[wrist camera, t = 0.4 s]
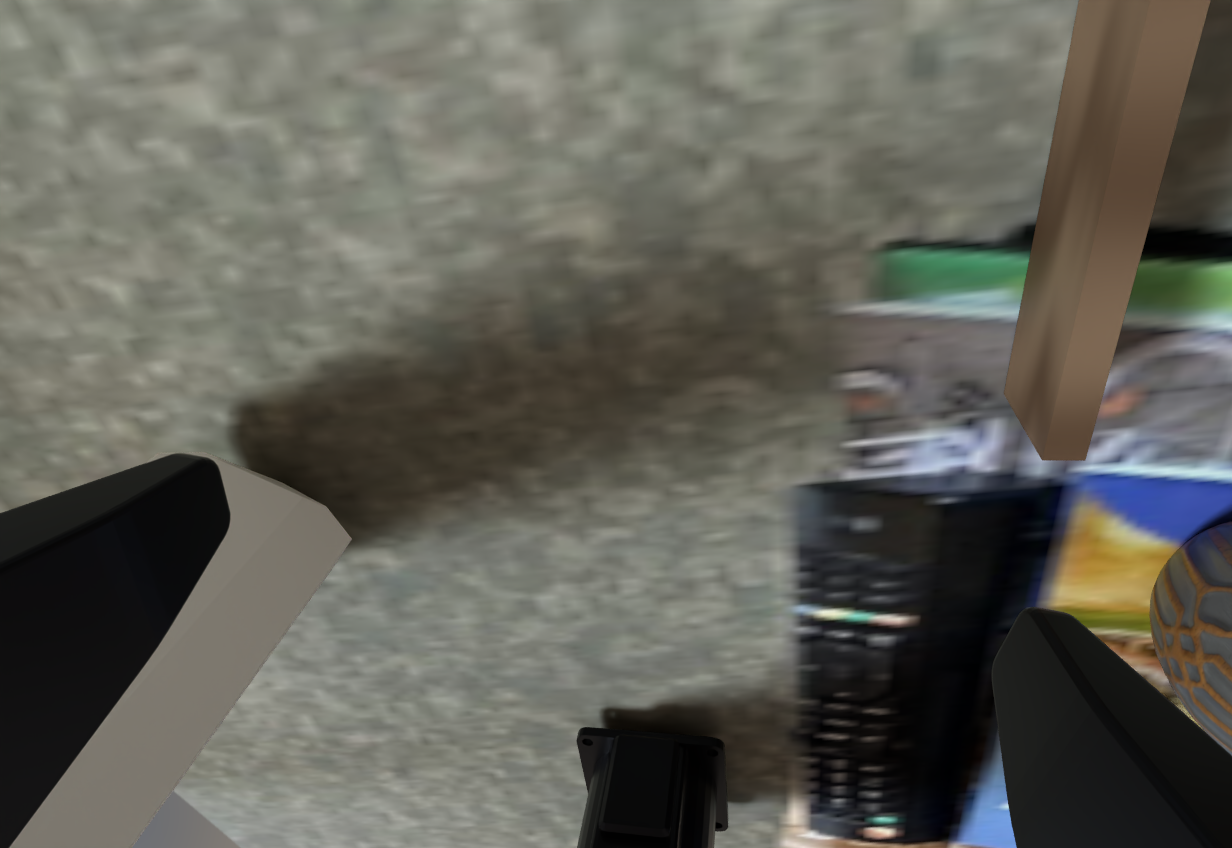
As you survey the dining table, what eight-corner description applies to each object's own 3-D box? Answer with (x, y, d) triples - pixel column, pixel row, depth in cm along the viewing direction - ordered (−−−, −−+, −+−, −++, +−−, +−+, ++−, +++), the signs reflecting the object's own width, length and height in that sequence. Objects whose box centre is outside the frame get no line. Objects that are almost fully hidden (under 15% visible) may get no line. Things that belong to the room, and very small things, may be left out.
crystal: (402, 572, 30) (-313, 1773, 10) (251, 565, 31) (-643, 1606, 11) (351, 420, 26) (-973, 1872, 6) (181, 420, 28) (-1346, 1603, 8)
